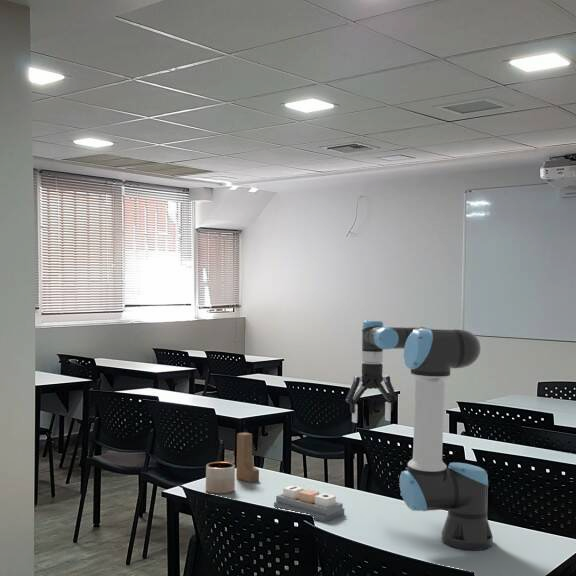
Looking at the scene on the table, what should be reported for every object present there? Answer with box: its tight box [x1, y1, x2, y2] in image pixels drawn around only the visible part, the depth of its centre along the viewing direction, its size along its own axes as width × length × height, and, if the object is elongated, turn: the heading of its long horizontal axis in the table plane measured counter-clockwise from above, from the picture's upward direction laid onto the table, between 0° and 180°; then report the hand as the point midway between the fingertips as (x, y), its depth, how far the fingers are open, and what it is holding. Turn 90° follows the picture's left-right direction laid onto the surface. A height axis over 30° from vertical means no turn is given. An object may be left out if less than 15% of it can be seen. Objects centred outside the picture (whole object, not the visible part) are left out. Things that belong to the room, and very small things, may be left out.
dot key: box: [315, 492, 337, 508], centre depth 242 cm, size 5×5×3 cm
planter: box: [205, 461, 236, 495], centre depth 270 cm, size 11×11×10 cm
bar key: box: [282, 485, 304, 499], centre depth 251 cm, size 5×5×3 cm
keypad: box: [273, 493, 345, 523], centre depth 246 cm, size 22×11×4 cm, turn 50°
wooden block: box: [235, 431, 260, 483], centre depth 286 cm, size 9×4×18 cm, turn 44°
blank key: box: [299, 489, 320, 504], centre depth 246 cm, size 5×5×3 cm
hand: (371, 421), depth 262 cm, fingers open, 13 cm apart
